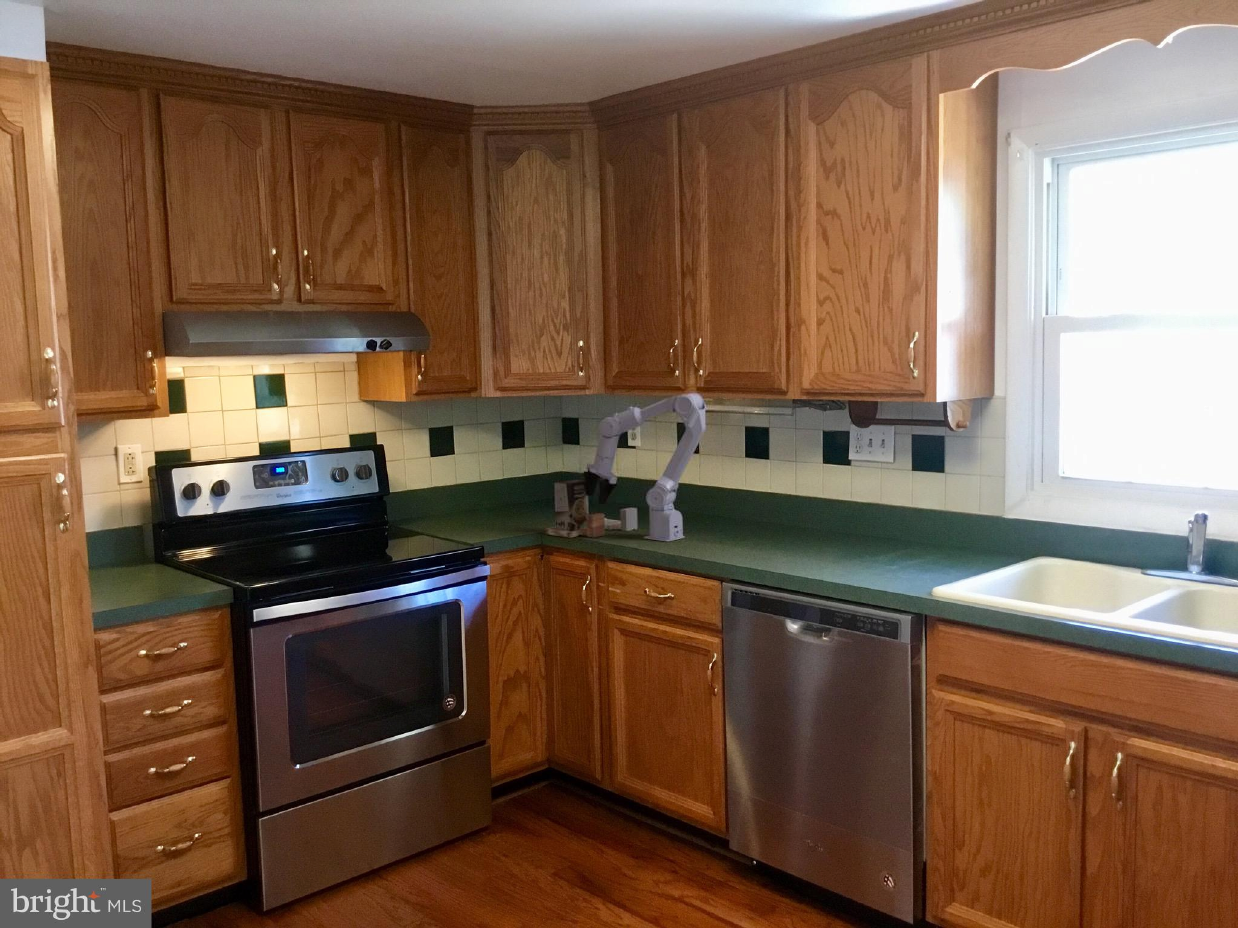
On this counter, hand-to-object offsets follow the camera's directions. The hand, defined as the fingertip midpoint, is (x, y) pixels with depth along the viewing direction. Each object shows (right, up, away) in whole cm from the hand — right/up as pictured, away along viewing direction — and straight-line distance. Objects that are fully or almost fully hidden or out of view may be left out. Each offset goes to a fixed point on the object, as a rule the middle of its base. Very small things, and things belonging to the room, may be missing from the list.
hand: (595, 499), depth 328 cm
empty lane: (+5, -9, +15) cm, 18 cm away
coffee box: (-7, -11, +7) cm, 15 cm away
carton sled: (-5, -11, +4) cm, 12 cm away
